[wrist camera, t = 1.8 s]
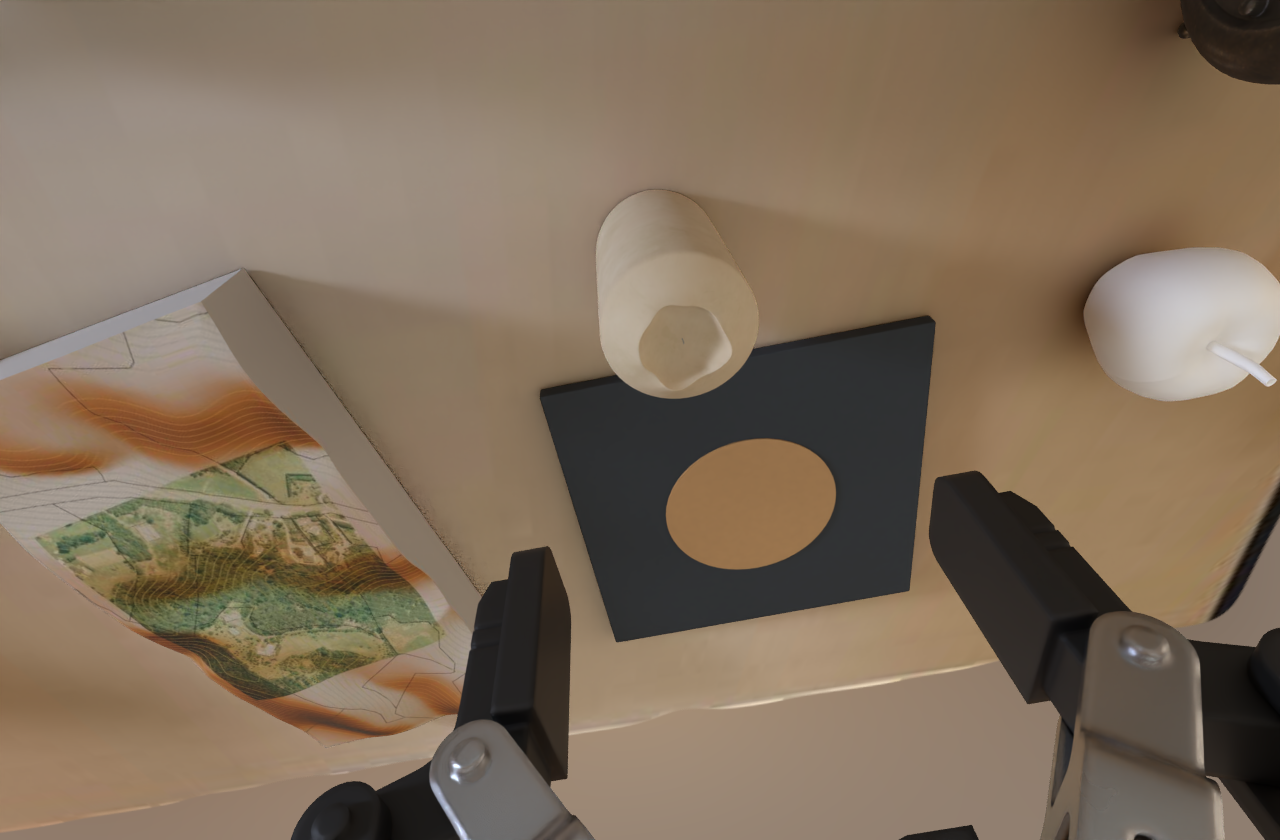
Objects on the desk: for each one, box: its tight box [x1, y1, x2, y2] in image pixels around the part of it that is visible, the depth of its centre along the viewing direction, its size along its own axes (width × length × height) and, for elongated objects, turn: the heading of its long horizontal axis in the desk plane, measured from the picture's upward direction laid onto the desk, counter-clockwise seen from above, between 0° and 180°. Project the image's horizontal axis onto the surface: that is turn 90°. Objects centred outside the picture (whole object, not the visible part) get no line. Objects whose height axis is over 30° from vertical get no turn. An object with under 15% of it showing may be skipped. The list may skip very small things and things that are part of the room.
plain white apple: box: [1083, 247, 1280, 401], centre depth 28 cm, size 7×7×8 cm
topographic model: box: [0, 268, 482, 748], centre depth 35 cm, size 30×14×5 cm, turn 19°
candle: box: [596, 190, 759, 399], centre depth 25 cm, size 6×6×10 cm
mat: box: [540, 316, 936, 642], centre depth 37 cm, size 20×20×1 cm
